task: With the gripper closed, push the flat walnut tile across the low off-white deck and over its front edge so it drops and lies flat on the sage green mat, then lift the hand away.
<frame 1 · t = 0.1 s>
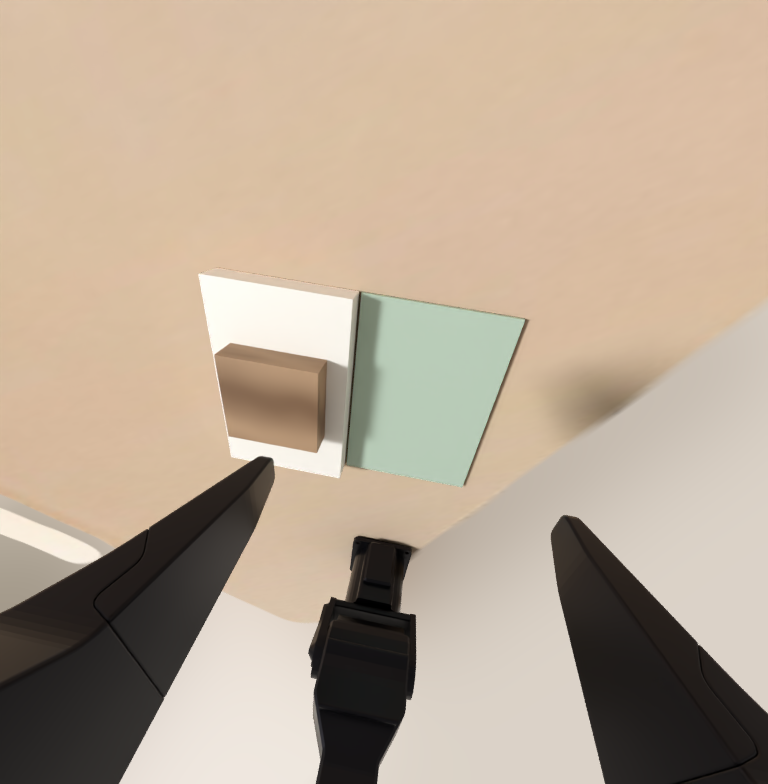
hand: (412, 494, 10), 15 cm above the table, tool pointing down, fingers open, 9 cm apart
deck: (290, 379, 26), on the table
tile: (280, 392, 24), point 2 cm above the table, touching deck
mat: (420, 403, 26), on the table
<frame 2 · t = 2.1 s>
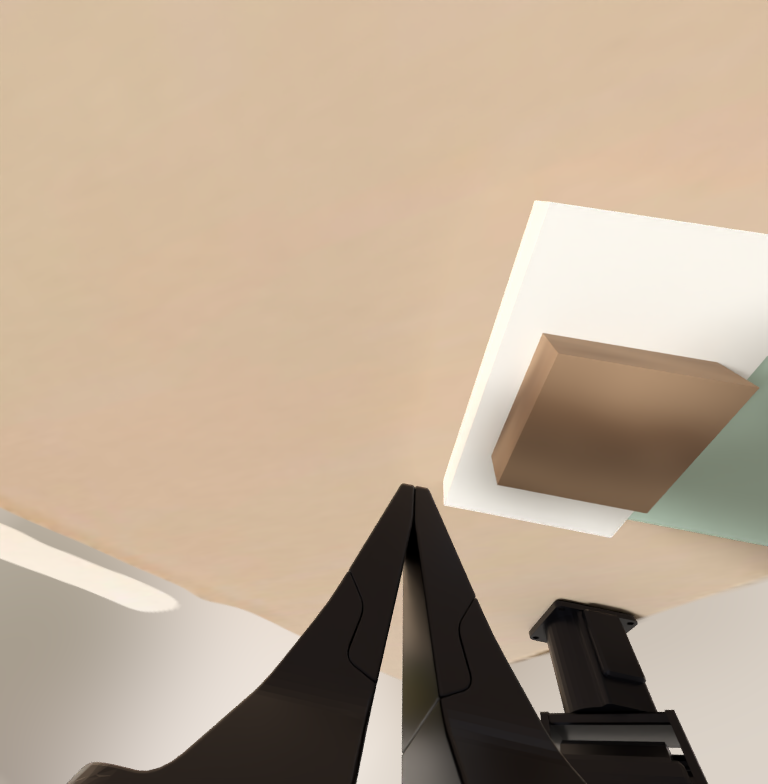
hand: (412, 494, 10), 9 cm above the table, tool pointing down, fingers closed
deck: (573, 392, 17), on the table
tile: (588, 415, 15), point 2 cm above the table, touching deck
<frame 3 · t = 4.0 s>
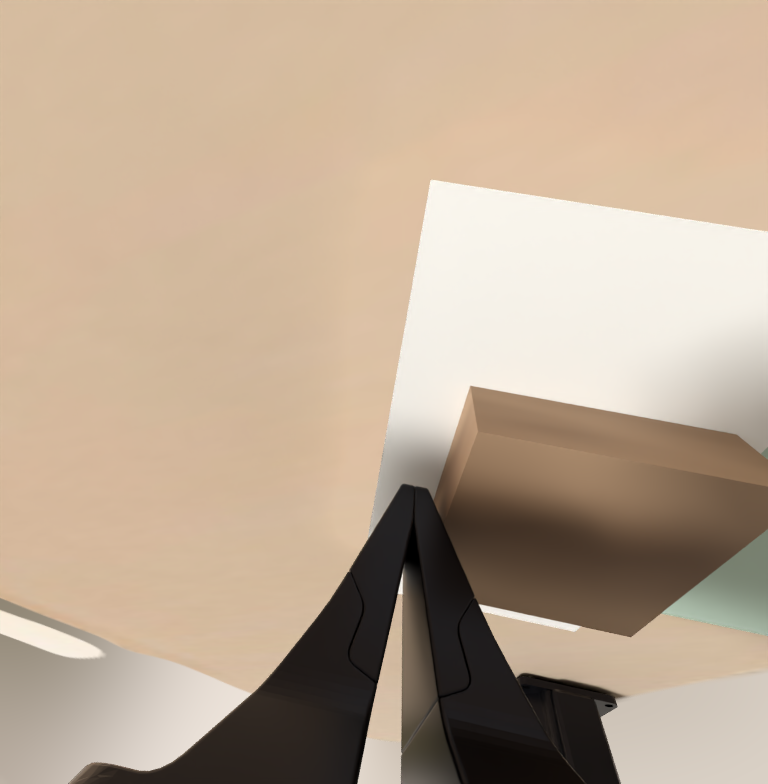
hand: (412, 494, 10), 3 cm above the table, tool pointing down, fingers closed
deck: (517, 451, 12), on the table
tile: (548, 496, 10), point 2 cm above the table
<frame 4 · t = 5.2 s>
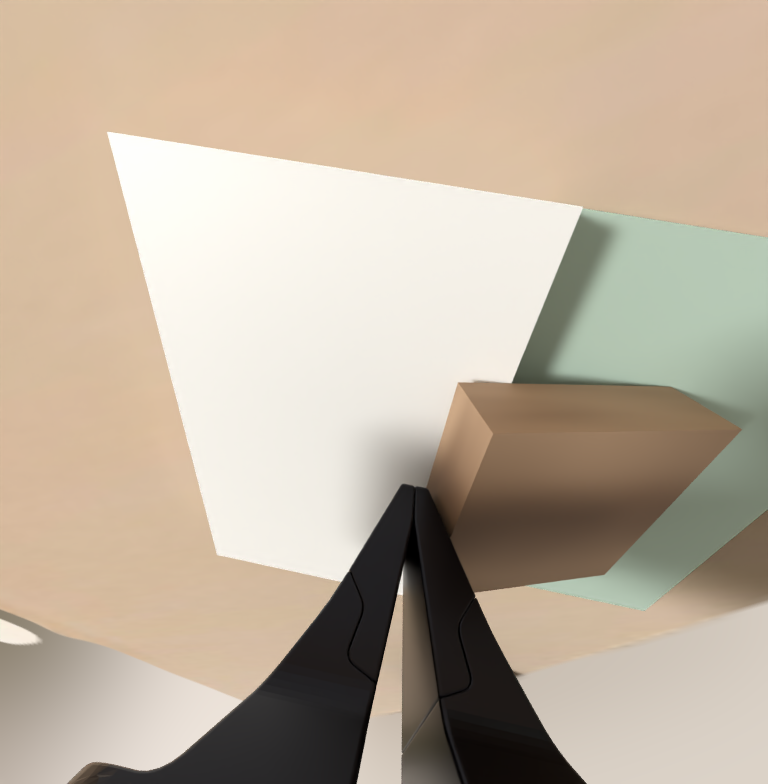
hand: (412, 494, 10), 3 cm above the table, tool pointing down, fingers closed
deck: (339, 418, 13), on the table
tile: (527, 471, 11), point 1 cm above the table, tilted 18°, touching deck, mat
mat: (614, 471, 12), on the table
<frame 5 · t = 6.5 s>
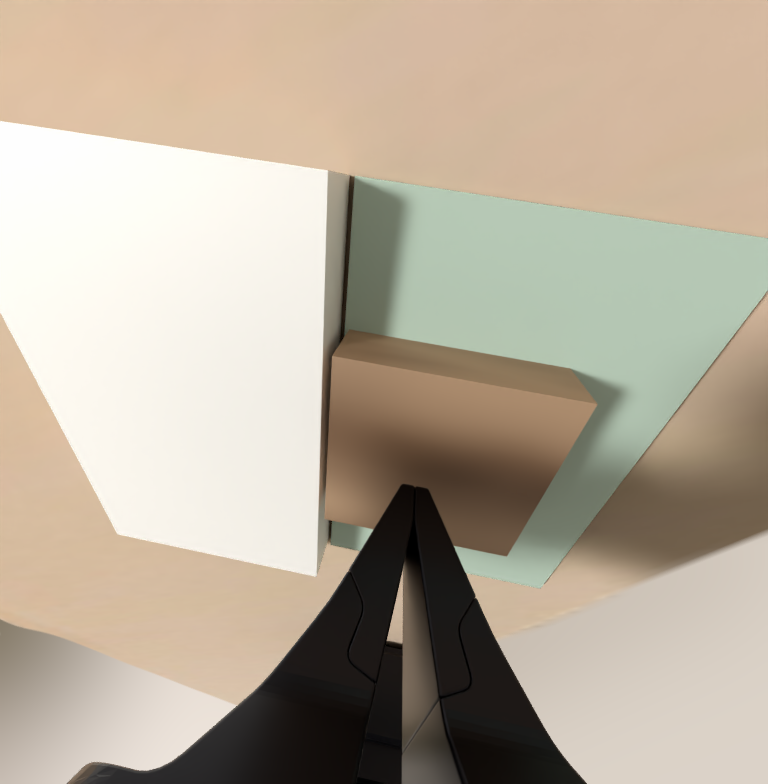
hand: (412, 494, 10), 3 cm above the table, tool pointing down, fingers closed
deck: (213, 395, 13), on the table
tile: (434, 433, 12), resting on mat
mat: (477, 445, 12), on the table
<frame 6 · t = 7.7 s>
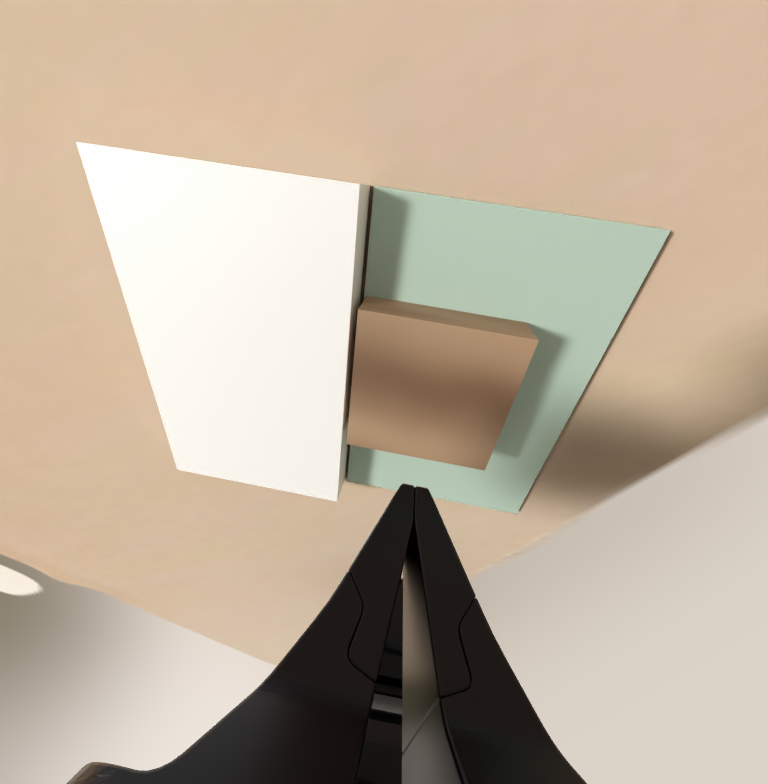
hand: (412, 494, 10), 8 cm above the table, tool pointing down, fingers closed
deck: (260, 351, 17), on the table
tile: (429, 377, 16), resting on mat
mat: (462, 387, 16), on the table
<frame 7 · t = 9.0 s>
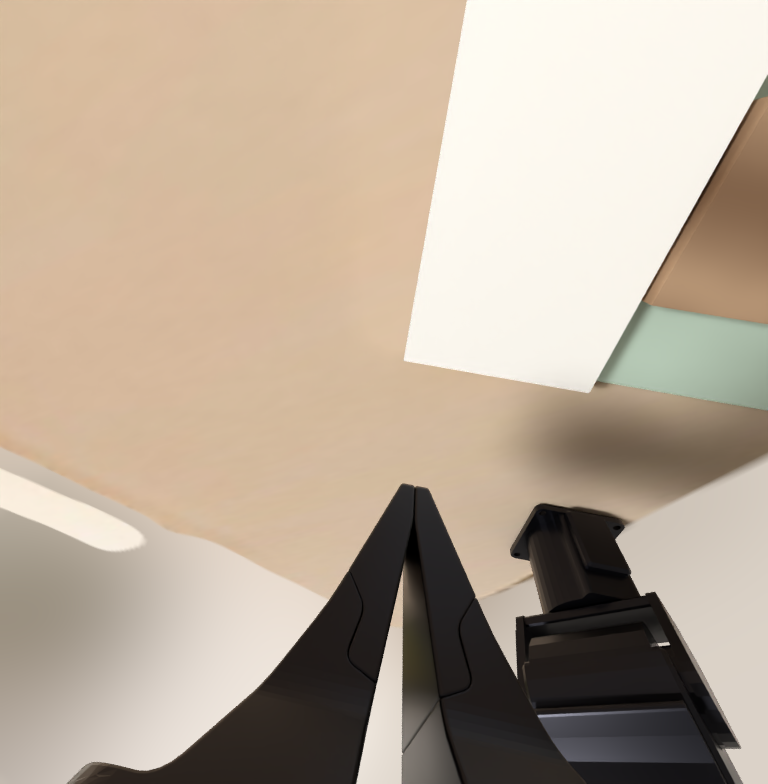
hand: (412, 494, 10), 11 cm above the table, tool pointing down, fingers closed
deck: (542, 205, 15), on the table
tile: (755, 225, 14), resting on mat
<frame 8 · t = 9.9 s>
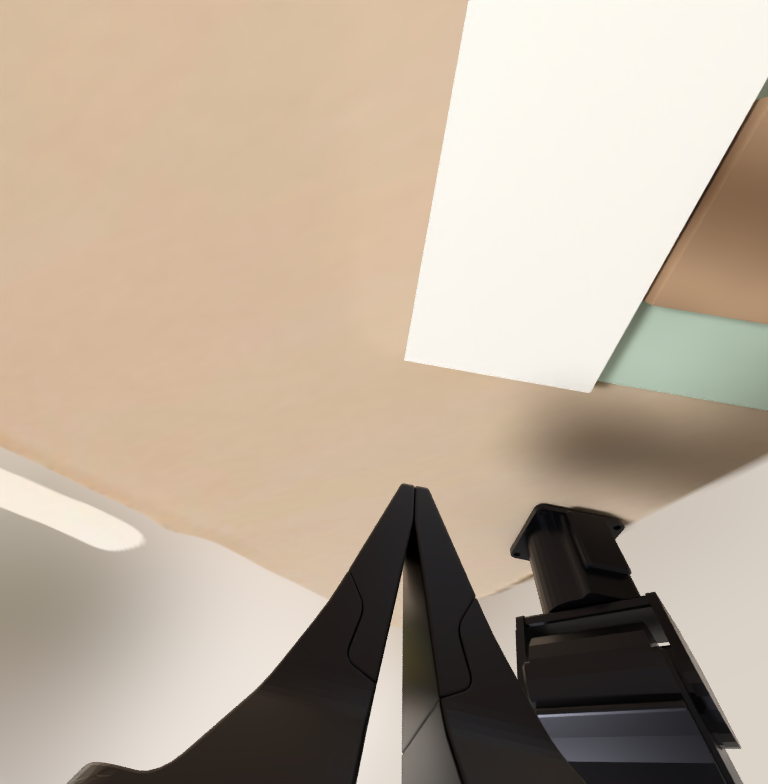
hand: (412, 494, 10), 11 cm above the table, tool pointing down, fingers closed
deck: (543, 205, 15), on the table
tile: (756, 225, 14), resting on mat
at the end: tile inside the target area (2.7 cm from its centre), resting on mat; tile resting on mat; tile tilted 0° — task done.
